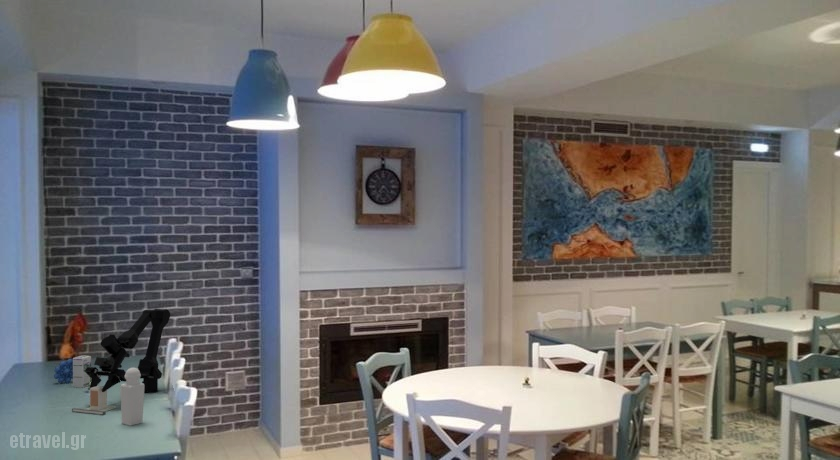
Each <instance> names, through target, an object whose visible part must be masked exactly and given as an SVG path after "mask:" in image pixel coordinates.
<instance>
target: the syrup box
mask: <svg viewBox="0 0 840 460" xmlns="http://www.w3.org/2000/svg"><path fill="white" fill-rule="evenodd" d="M72 360H73V379H72V387H73V388H78V387H81V388H83V387H84V388H86V387H89V386H90V385H89V383H90V382H91V378H90V377H89V376H88V375H87V373H86V372H85V370H86V369H87V367H92V356H91V355H79V356H75V357H73V358H72ZM88 385H89V386H88ZM81 388H80V389H81Z"/></svg>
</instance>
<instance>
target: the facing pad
mask: <svg viewBox="0 0 840 460" xmlns="http://www.w3.org/2000/svg"><path fill="white" fill-rule="evenodd" d="M117 408H118V406H115V405H107V408H104V409H101V410H97V411H106V412H109V411H111V410H114V409H117ZM85 409H88V410H90V406H88V407H87V408H85Z"/></svg>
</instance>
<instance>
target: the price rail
mask: <svg viewBox="0 0 840 460" xmlns="http://www.w3.org/2000/svg"><path fill="white" fill-rule="evenodd" d="M71 412H72V413H79V414H80V413H81V414H91V415H101V416H104V415H107V414H106V413H107V411H97V410H88V409H86V408H76V407H74V408H72V409H71Z"/></svg>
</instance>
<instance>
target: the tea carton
mask: <svg viewBox="0 0 840 460" xmlns="http://www.w3.org/2000/svg"><path fill="white" fill-rule="evenodd" d="M103 387H104V385H97V386H95V387H92V388H90V387H89V407H90V410H101V409H104V408H107V406H108V403H107V402H108V400H107V399H108V390H106V391H105V392H102V389H103Z"/></svg>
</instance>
